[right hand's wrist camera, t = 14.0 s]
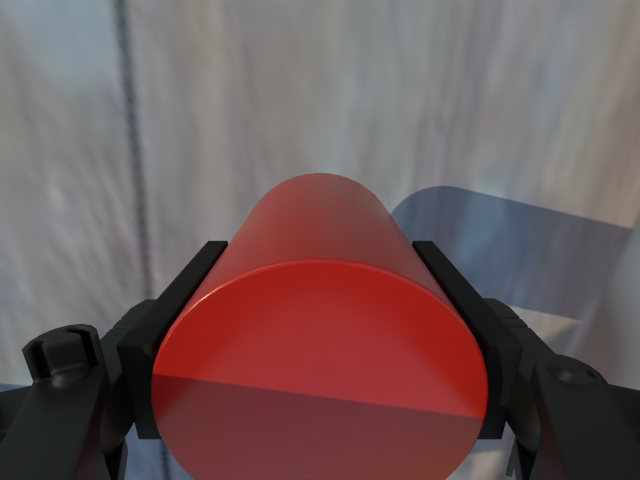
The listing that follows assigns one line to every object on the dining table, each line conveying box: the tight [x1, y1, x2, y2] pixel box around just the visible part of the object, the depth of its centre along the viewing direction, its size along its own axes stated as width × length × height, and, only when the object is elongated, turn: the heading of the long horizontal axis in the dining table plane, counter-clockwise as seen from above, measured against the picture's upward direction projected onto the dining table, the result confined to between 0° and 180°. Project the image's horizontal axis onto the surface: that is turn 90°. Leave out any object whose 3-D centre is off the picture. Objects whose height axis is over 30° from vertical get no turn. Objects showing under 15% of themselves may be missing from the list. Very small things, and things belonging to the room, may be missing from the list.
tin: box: [151, 173, 489, 480], centre depth 12 cm, size 7×7×10 cm
